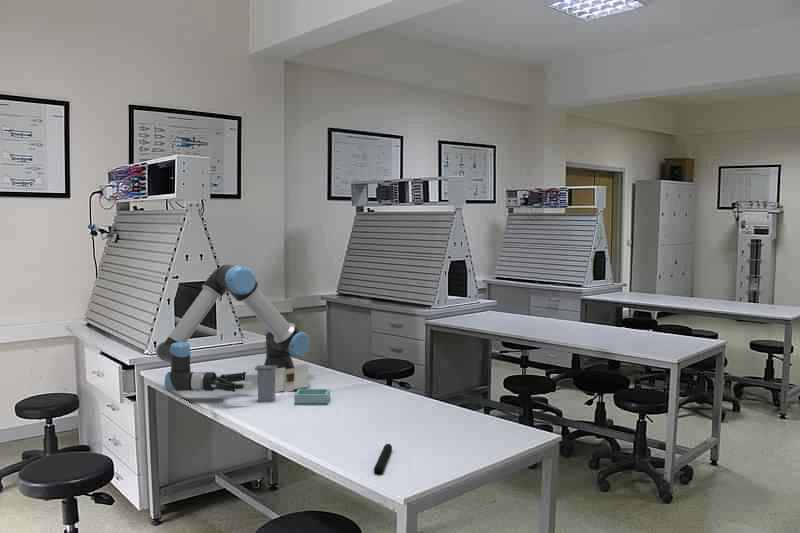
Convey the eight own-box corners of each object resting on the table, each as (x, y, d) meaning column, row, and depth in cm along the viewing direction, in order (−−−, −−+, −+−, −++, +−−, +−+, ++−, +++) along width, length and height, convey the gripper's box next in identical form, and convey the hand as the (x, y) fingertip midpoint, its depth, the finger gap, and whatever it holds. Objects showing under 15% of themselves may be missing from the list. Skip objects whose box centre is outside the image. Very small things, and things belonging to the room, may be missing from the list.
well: (298, 398, 251) (298, 388, 251) (330, 398, 251) (330, 388, 251) (294, 404, 242) (294, 394, 242) (327, 404, 242) (327, 395, 242)
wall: (313, 397, 267) (312, 369, 277) (309, 386, 261) (308, 358, 271) (275, 403, 266) (276, 375, 277) (270, 393, 260) (271, 364, 271)
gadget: (384, 442, 194) (373, 467, 175) (392, 442, 194) (382, 467, 174) (384, 450, 195) (373, 475, 175) (392, 450, 194) (382, 476, 175)
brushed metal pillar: (258, 398, 251) (257, 365, 250) (277, 398, 251) (277, 365, 250) (255, 401, 246) (254, 367, 246) (275, 402, 246) (274, 367, 245)
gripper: (214, 382, 261) (264, 382, 260) (193, 399, 236) (248, 399, 235) (214, 365, 260) (264, 365, 260) (193, 380, 235) (248, 380, 235)
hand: (256, 381), depth 248 cm, fingers open, 13 cm apart
